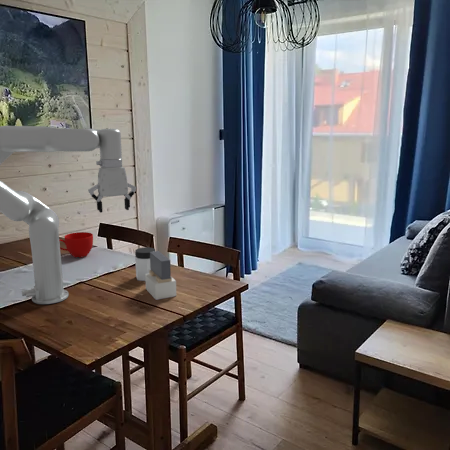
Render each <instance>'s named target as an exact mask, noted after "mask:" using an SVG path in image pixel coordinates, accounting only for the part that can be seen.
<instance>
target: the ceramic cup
mask: <svg viewBox="0 0 450 450" xmlns="http://www.w3.org/2000/svg"><path fill="white" fill-rule="evenodd" d="M59 242H62V243H64V245H65V247H66V248H64V247H61V246H60V251H61V250H62V251H67V252H68V253H69V254H70V255H71V256H72V257H73V258H77V257H79V258H85V257H87V256H88V255H89V254H90V252H91V250H92V248H93V243H94V234H93V233H91V232H86V231H83V232H82V231H79V232H71V233H67V234H65V235H64V239H61V238H59ZM84 256H85V257H84Z"/></svg>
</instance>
